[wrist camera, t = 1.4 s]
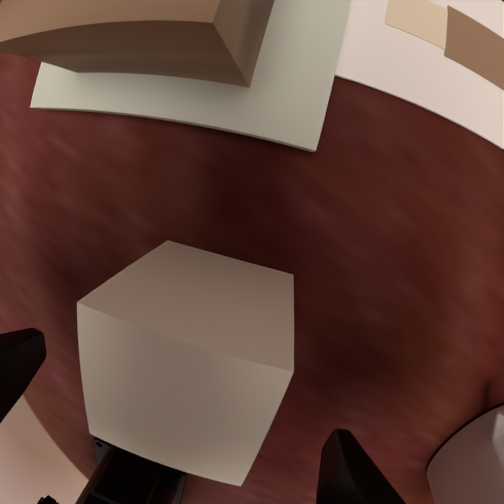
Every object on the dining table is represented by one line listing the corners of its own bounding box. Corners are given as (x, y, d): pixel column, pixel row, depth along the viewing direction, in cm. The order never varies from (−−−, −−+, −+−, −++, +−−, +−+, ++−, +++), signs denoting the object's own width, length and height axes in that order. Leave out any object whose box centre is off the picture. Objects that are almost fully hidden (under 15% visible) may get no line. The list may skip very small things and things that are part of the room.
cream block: (260, 375, 13) (241, 486, 8) (154, 343, 13) (90, 433, 8) (293, 274, 12) (293, 372, 6) (167, 239, 12) (76, 301, 6)
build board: (313, 152, 10) (316, 150, 9) (46, 109, 11) (30, 107, 10) (358, -51, 8) (363, -66, 6) (112, -60, 8) (102, -70, 7)
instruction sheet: (527, 165, 9) (530, 165, 9) (291, 64, 10) (291, 62, 9) (532, 26, 7) (534, 25, 7) (327, -72, 7) (327, -75, 7)
